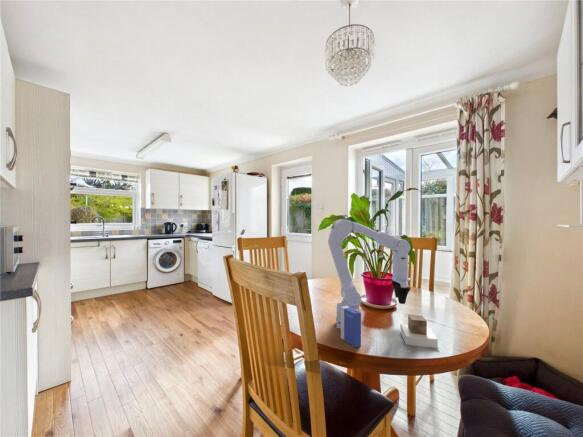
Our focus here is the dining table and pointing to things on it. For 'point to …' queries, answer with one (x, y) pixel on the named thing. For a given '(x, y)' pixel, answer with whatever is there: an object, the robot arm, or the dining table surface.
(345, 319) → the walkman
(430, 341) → the base block
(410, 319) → the walnut cube
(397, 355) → the dining table surface
